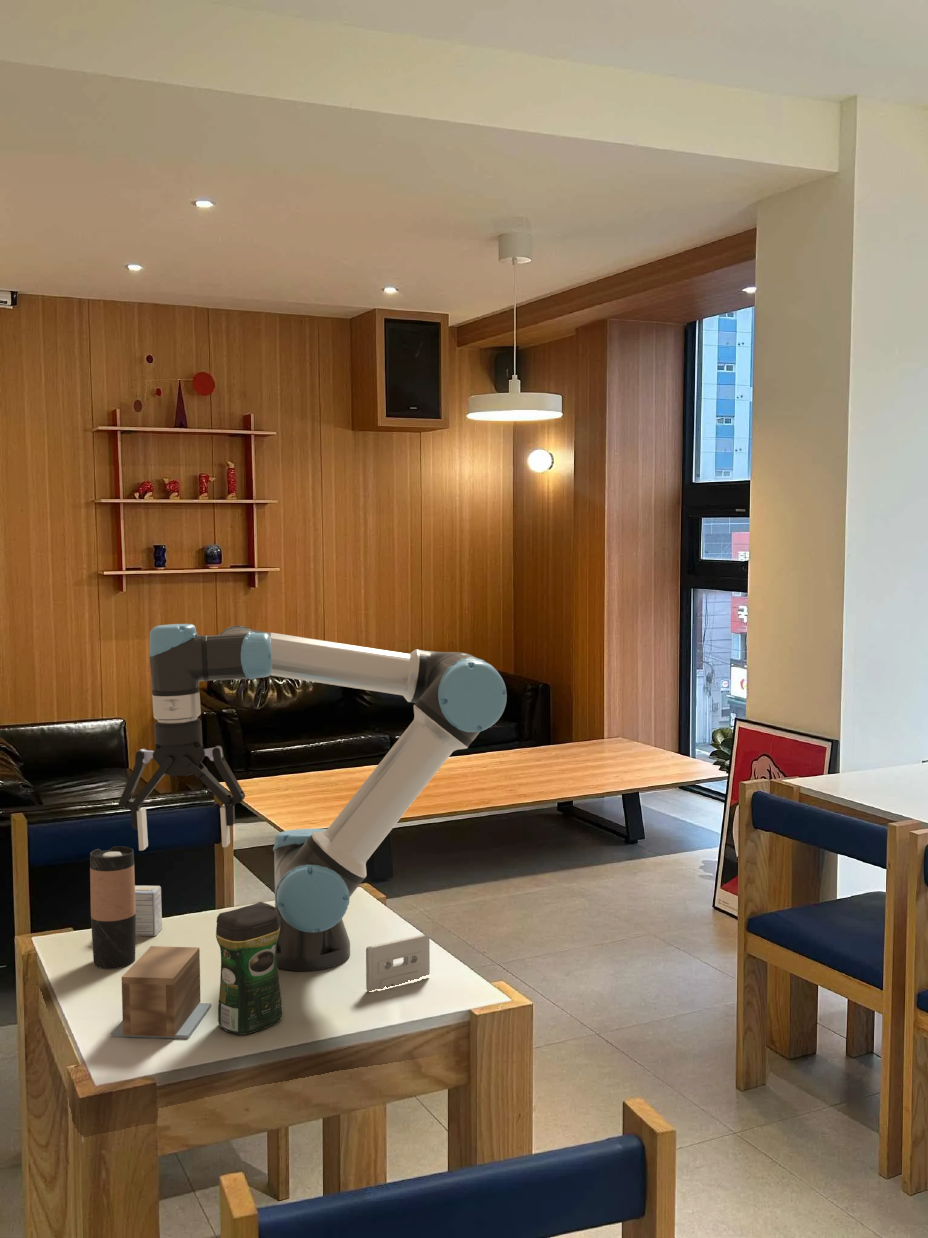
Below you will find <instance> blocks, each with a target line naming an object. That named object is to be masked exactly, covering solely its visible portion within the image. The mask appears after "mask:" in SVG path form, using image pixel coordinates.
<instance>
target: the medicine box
mask: <svg viewBox="0 0 928 1238" xmlns="http://www.w3.org/2000/svg"><path fill="white" fill-rule="evenodd" d="M135 905H136V937H156V936H157V935H158V934H159V933H160V931H162V929H163V915H162V914H163V913H162V887H161V886H160V885H135Z"/></svg>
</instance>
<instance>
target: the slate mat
mask: <svg viewBox="0 0 928 1238" xmlns="http://www.w3.org/2000/svg"><path fill="white" fill-rule="evenodd" d="M211 1008H212V1003H211V1002H209V1003H208V1002H200V1003H199V1004H198V1006H197V1007H196V1008H195V1010H194V1011H193V1012H192V1014H191V1015H190V1016H189V1018H188V1019H187V1020H186V1022H185V1023H184V1025H183V1026H182V1027H181V1029H180V1030H179V1031H178V1033H177V1034H176V1035H175V1036H145V1035H123V1019H122V1020H121V1021H120V1022H119V1023H118V1024H117V1025H116V1026H115V1028H114V1029H113V1030H112V1031H111V1033H110V1036H111V1037H121V1038H122V1037H123V1038H124V1037H125V1038H130V1037H131V1038H150V1039H151V1038H152V1039H153V1038H154V1039H155V1038H157V1039H158V1038H159V1039H186V1040H187V1039H188V1040H189V1038H190V1037H191V1036H192V1034H193V1033H195V1030H196V1029H197V1027H198V1026H199V1024H200V1023H201V1022H202V1020H203V1019H204V1018H205V1016H206V1015H207V1014H208V1012H209V1011H210V1009H211Z"/></svg>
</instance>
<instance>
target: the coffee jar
mask: <svg viewBox="0 0 928 1238" xmlns="http://www.w3.org/2000/svg"><path fill="white" fill-rule="evenodd" d="M279 933H280V925H279V919H278V913H277V910H276V908H275V905H274V906H273V905H271V904H269V903H265V902H263V901H258V902H257V903H254V904H251V905H246V906H243V907H239V908H236V909H233V910H229V911H224V912H220V913H219V914H218V915H217V917H216V928H215V938H216V941H217V944H218V946H219V948H220V949H219V950H220V978H219V979H220V980H219V994H218V1005H217V1008H218V1009H217V1023H218V1025H219V1026H220V1027H221V1028H222V1029H223V1030H225V1032H228V1033H229V1034H239V1035H247V1034H251V1033H255V1032H258V1031H261V1030H263V1029H266V1028H269V1027H270V1026H272V1025H275V1024H277V1023H279V1022H280V1021H281V1019H282V1018H283V1002H282V994H281V993H282V992H281V986H280V981H279V980H280V978H279V968H278V967H277V941H278V936H279Z"/></svg>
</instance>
